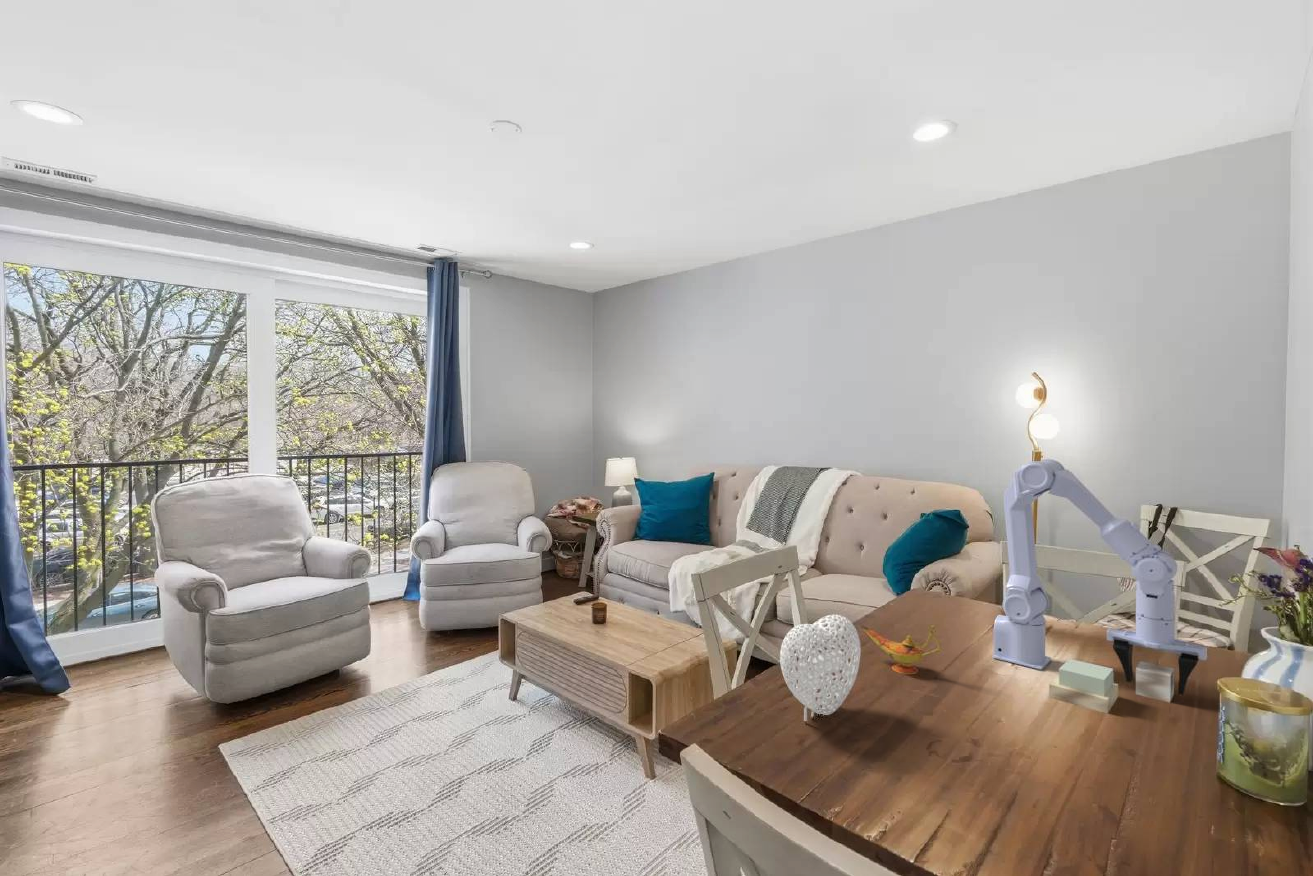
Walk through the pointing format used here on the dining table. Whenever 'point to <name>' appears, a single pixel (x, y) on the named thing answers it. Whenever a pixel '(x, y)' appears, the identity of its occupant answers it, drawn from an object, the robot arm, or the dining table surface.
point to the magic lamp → (902, 650)
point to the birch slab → (1083, 696)
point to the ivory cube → (1155, 681)
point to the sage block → (1086, 677)
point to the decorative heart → (821, 663)
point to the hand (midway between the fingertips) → (1154, 686)
